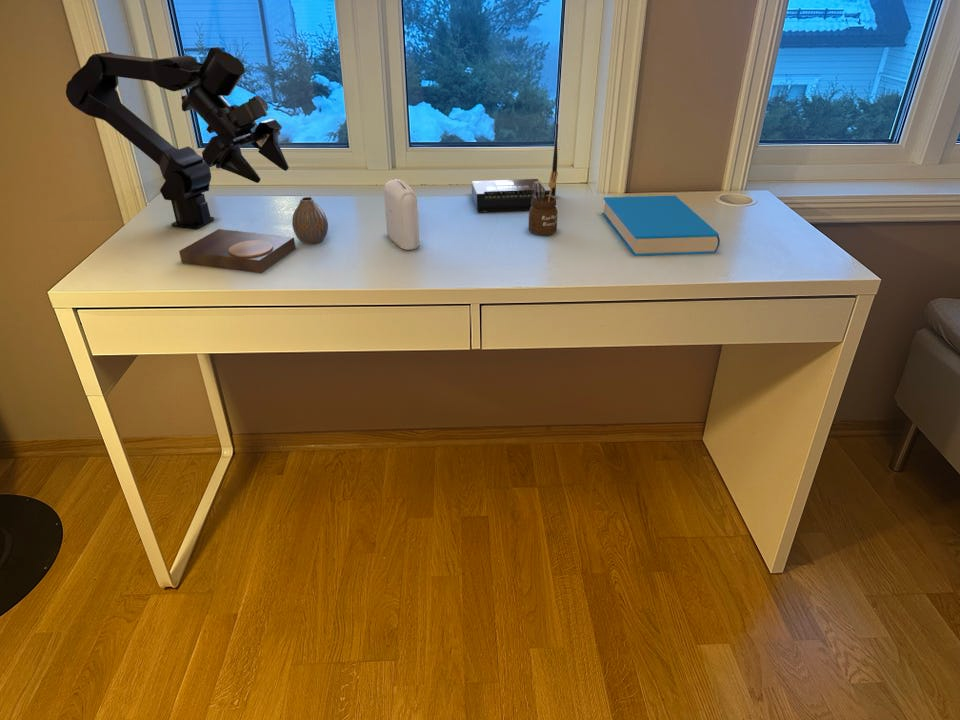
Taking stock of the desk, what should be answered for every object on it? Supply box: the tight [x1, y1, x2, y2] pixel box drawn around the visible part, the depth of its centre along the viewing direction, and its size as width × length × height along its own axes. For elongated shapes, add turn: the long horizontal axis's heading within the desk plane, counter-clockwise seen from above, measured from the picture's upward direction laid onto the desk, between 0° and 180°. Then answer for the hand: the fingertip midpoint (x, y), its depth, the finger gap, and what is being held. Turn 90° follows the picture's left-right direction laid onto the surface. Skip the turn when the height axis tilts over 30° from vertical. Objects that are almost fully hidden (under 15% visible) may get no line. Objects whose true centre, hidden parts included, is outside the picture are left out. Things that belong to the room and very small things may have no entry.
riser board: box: [178, 228, 297, 274], centre depth 130 cm, size 17×12×3 cm
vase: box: [291, 196, 329, 245], centre depth 135 cm, size 7×7×9 cm
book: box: [601, 195, 721, 257], centre depth 141 cm, size 17×4×25 cm
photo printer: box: [383, 178, 420, 251], centre depth 134 cm, size 10×4×12 cm, turn 26°
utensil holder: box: [528, 170, 559, 237], centre depth 139 cm, size 6×6×12 cm
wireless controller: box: [471, 123, 559, 214], centre depth 155 cm, size 20×14×17 cm
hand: (273, 175), depth 133 cm, fingers open, 9 cm apart
